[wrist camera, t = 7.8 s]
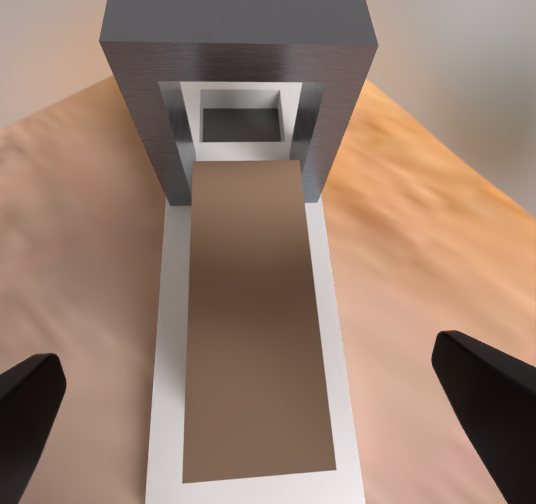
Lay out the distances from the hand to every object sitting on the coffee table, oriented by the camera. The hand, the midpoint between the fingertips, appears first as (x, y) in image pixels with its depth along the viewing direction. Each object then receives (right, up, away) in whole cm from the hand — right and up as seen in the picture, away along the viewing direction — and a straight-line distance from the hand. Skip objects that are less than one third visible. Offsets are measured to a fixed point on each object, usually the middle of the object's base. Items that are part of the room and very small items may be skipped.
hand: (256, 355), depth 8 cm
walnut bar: (-1, -2, +10) cm, 10 cm away
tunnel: (-1, +7, +14) cm, 16 cm away
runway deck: (-1, +2, +14) cm, 14 cm away
